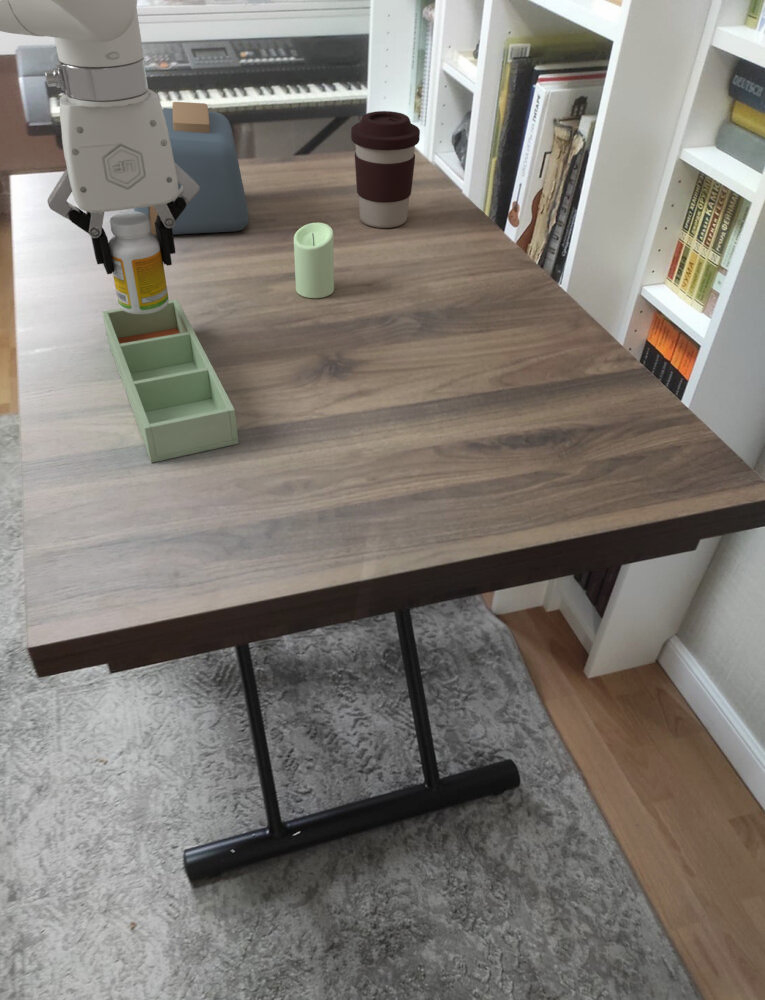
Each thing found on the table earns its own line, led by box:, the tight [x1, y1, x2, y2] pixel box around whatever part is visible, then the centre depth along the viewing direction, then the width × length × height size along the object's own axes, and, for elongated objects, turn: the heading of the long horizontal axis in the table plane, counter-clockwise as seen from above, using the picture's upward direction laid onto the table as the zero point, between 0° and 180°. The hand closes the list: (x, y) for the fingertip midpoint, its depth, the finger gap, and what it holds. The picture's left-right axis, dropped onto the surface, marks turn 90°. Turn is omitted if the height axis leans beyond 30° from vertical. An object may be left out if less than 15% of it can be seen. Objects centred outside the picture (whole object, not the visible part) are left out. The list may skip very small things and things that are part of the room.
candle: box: [293, 222, 335, 299], centre depth 107 cm, size 5×5×8 cm
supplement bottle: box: [108, 211, 170, 314], centre depth 89 cm, size 5×5×10 cm
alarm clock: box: [133, 101, 250, 236], centre depth 123 cm, size 16×16×16 cm
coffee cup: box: [350, 110, 421, 229], centre depth 124 cm, size 10×10×15 cm
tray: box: [101, 299, 239, 464], centre depth 89 cm, size 9×25×4 cm, turn 23°
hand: (137, 262), depth 89 cm, fingers closed on supplement bottle, 5 cm apart
